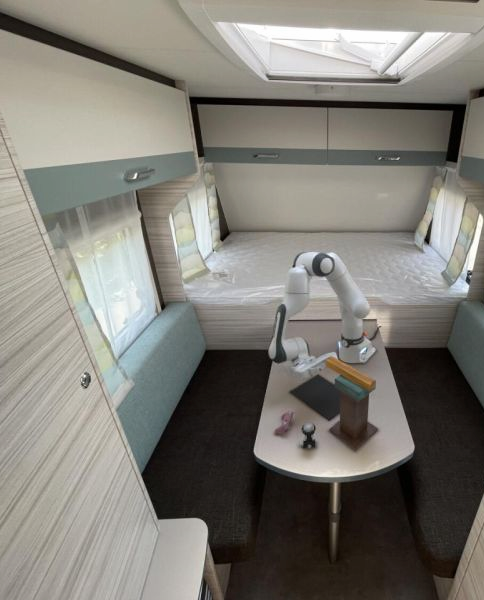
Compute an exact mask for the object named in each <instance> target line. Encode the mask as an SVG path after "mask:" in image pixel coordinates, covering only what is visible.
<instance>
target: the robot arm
mask: <svg viewBox="0 0 484 600" xmlns="http://www.w3.org/2000/svg"><path fill="white" fill-rule="evenodd" d="M292 263H293V264H292V266H291V267H292V268H290V269H289V270H288V271H287V273H286V277H285V283H284V284H285V285H284V295H283V300H282V302H281V304H279V306H277V309H276V312H275V317H274V323H273V329H272V334H271V335H272V336H271V339H270V343H269V346H268V348H267V349H268V350H267V354H268V357H269V359H270V360H271V361H272V362H274V363H275V364H277V365H279V364H283V363H284V364H283V371H284V372H285V374H287V375H288V376H289V377H292V378H294V379H295V381H296V382H301V381H305V380H307V379H308V378H310V377H315V376H316V375H318V373H320V372H321V371H322V370H323V369H324V368H326V367H327V366H326V359H328V358H330V357H334V358H336V359H338V360H340V361H341V362H343V363H346V364H365V363H366V362H367V361H368V360H369V359H370V358H371V357H372V356H373V355H374V354H375V353H376V350H377V349H376V348H375V347H374V346H373V345H372V342H371V341H372V340H374V338H375V337H376V335H377V333H378V331H379V330H380V328H382V325H379V326H378V327H377V328H376V330H375V332H374V335H373V336H372V337H371V338H366V337H367V336H368V332H366V331H364V332H363V326H364V322H363V321H364V320H363V319H365V318H366V317H367V316H368V315H369V314H370V313H371V305H370V303H369V302H368V300H367V298H366V297H365V295H364V293H363V292H362V291H361V289H360V288H359V286H358V285H357V284H356V282H355V281H354V279H353V277H352V275H351V274H350V272H349V270H348V268H347V266H346V265H345V263H344V262H343V261H342V259H341V258H340V257H339V255H337V254H336V252H327V253H325V252H319V251H318V252H316V251H309V252H306V251H303V252H300V253H298V254H296V255H295V257H294V260H293V262H292ZM313 277H319V278H324V277H325V279H326V281H327V282H328V284H329V286H330V287H331V289H332V290H333V292H334V293H335V295H336V299H337V301H338V305H339V312H340V317H341V334H340V341H339V342H338V347H339V348H338V355H337V352H336V351H332V352H328V353H324V354H322V355H320V356H318V357H317V358H316V356H314V355H310V345H309V343H308V342H307V340H306V339H305V338H304V337H302V336H297V337H296V336H295V337H291V338H285V335H286V329H287V325H288V322H289V321H290V320H291V319H292V318H294V316H296V315H297V314H300V313H301V312H303V311H304V310H305V309H306V308H307V307H308V305H309V303H310V293H311V291H310V286H311V285H310V283H311V280H312V279H313Z"/></svg>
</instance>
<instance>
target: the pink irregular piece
mask: <svg viewBox="0 0 484 600" xmlns="http://www.w3.org/2000/svg"><path fill="white" fill-rule="evenodd" d="M294 415H295V412H293V411H290V410H288V411H287V412H284V413H283V414H282V415H281V419H282V422H281V425H280V426H278V427H277V428H275V429H274V433H275V434H277V435H281V434H283V433H284V432H286V431H287V430H289V429H290V424H291V420H292V419H293V417H294Z"/></svg>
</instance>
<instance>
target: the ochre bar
mask: <svg viewBox="0 0 484 600" xmlns="http://www.w3.org/2000/svg"><path fill="white" fill-rule="evenodd" d="M326 367H327V368H329V369H330V370H331V371H333V372H335V373H337V374H338V375H342V376H344V377H345V378H347V379H349V380H351V381H352V382H354V383H356V384H357V385H359V386H361V387H362V388H364V389H366V390H368V391H370V390H371V389H373V388H374V387H375V380H376V379H375V378H373V377H371V378H370V376H369V375H367V374H365V373H364V372H362V371H360V370H359V369H356V368H355V367H353V368H352V366H350V365H349V364H348V363H346V362H344V361H342V360H341V359H339V358H338V359H336V358H334V357H330V358H328V359H326ZM359 371H360V372H359ZM361 372H362V373H361ZM372 378H373V379H372ZM375 388H376V387H375Z"/></svg>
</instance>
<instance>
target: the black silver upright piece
mask: <svg viewBox="0 0 484 600" xmlns="http://www.w3.org/2000/svg"><path fill="white" fill-rule="evenodd" d="M316 430H317V427H316V425H315V424H314V423H313V422H306V423H304V424H303V425H302V426H301V433H302V435H304V438H303V439H302V441H301V442H298V446H299V447H303V448H307V449H311V448H313V449H314V448H316V438H315V436H314V434H315V432H316Z"/></svg>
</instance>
